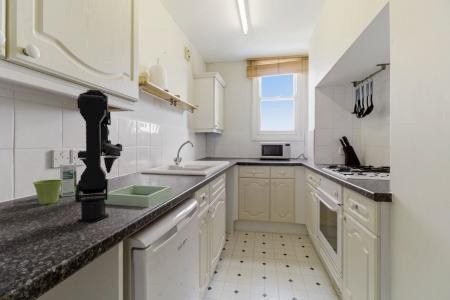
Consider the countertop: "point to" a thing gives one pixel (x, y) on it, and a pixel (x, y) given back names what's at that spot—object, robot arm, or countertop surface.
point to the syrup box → (68, 179)
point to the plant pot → (47, 191)
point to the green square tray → (126, 197)
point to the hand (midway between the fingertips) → (100, 174)
